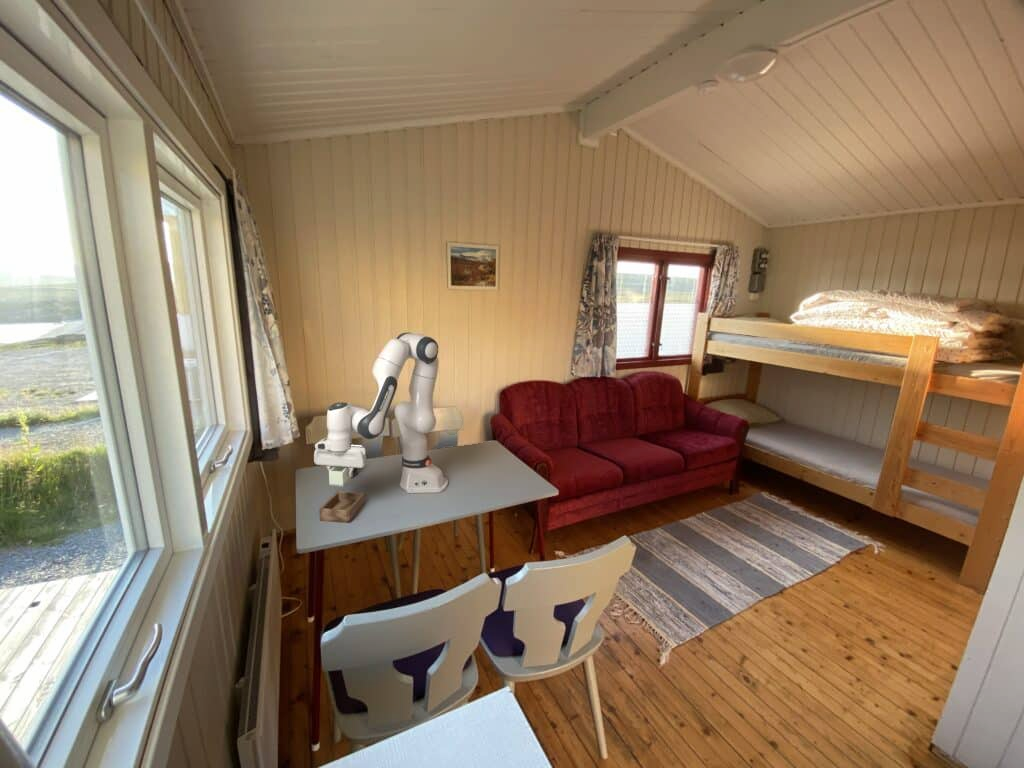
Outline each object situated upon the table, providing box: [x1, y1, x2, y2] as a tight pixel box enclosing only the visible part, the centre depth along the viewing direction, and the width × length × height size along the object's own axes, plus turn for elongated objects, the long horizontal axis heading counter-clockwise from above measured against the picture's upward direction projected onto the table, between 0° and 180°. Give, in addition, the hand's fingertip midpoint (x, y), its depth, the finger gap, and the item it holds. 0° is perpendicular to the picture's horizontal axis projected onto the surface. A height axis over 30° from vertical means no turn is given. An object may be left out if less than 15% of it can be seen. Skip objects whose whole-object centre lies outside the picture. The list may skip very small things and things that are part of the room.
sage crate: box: [328, 466, 354, 487], centre depth 173 cm, size 6×9×6 cm, turn 177°
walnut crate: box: [318, 491, 365, 524], centre depth 176 cm, size 12×15×5 cm
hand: (341, 475), depth 173 cm, fingers closed on sage crate, 5 cm apart
